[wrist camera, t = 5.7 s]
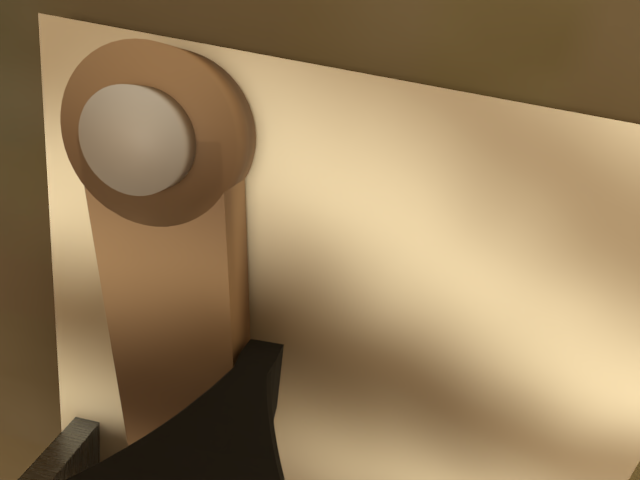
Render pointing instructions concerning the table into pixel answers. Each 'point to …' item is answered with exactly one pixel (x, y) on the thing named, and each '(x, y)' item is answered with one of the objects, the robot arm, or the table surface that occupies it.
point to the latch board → (401, 274)
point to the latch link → (164, 217)
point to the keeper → (68, 452)
